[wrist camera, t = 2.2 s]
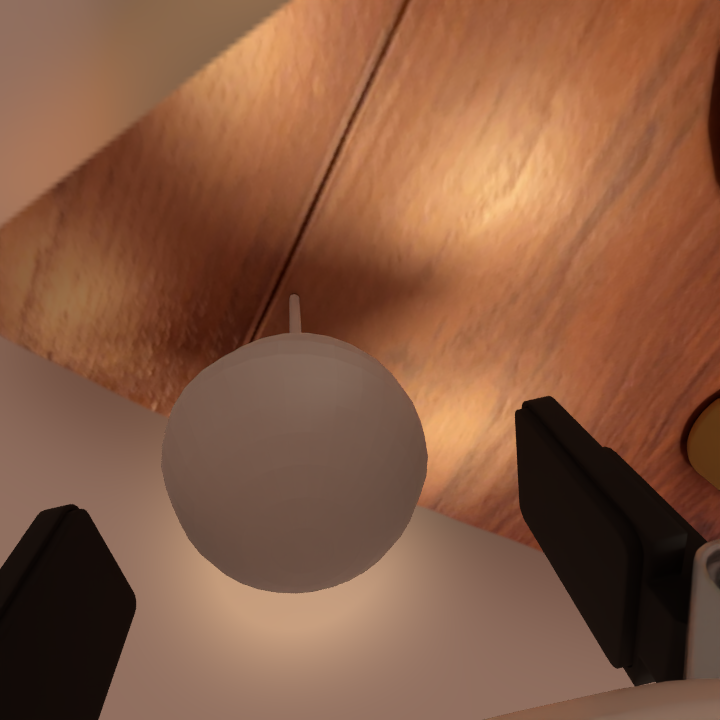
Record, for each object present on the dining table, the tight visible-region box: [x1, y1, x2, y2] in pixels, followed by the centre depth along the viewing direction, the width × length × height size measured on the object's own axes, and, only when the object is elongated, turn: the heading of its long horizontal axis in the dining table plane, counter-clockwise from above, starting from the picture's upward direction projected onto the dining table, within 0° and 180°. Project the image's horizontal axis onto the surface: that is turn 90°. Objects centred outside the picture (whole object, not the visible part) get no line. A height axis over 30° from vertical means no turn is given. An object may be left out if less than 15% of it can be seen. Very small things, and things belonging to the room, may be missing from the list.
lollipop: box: [161, 294, 428, 593], centre depth 15 cm, size 6×6×15 cm
